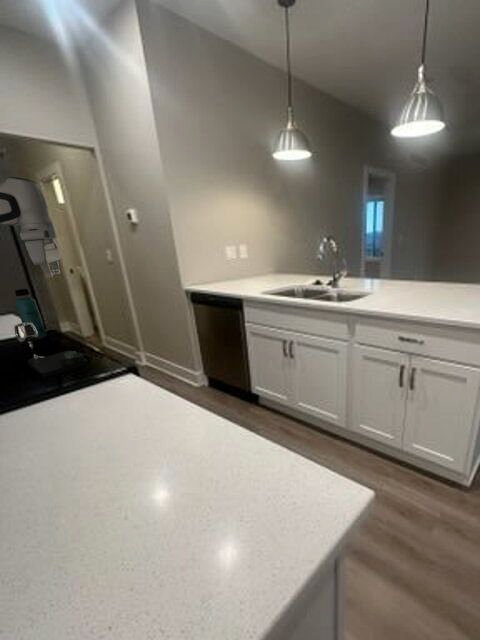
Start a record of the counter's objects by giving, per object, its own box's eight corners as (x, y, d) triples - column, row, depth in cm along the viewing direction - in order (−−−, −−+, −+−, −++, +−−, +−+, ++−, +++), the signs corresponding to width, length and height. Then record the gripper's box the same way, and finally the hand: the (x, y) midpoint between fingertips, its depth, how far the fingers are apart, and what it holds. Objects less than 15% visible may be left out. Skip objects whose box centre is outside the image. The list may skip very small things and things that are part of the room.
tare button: (67, 360, 104) (66, 355, 104) (64, 358, 106) (62, 353, 106) (79, 357, 106) (77, 352, 106) (75, 354, 108) (74, 350, 108)
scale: (44, 378, 99) (40, 368, 98) (28, 365, 109) (25, 357, 108) (88, 364, 108) (85, 355, 106) (70, 353, 117) (68, 345, 116)
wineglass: (50, 357, 115) (37, 323, 111) (30, 363, 111) (17, 328, 106) (41, 354, 118) (29, 321, 114) (22, 360, 114) (8, 326, 109)
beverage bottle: (24, 342, 132) (5, 291, 124) (41, 337, 138) (23, 287, 130) (36, 343, 130) (17, 291, 122) (53, 338, 136) (35, 287, 128)
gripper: (38, 233, 121) (51, 273, 126) (17, 234, 103) (33, 281, 108) (58, 232, 123) (70, 271, 128) (41, 233, 105) (56, 278, 110)
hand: (53, 276), depth 118 cm, fingers open, 8 cm apart
